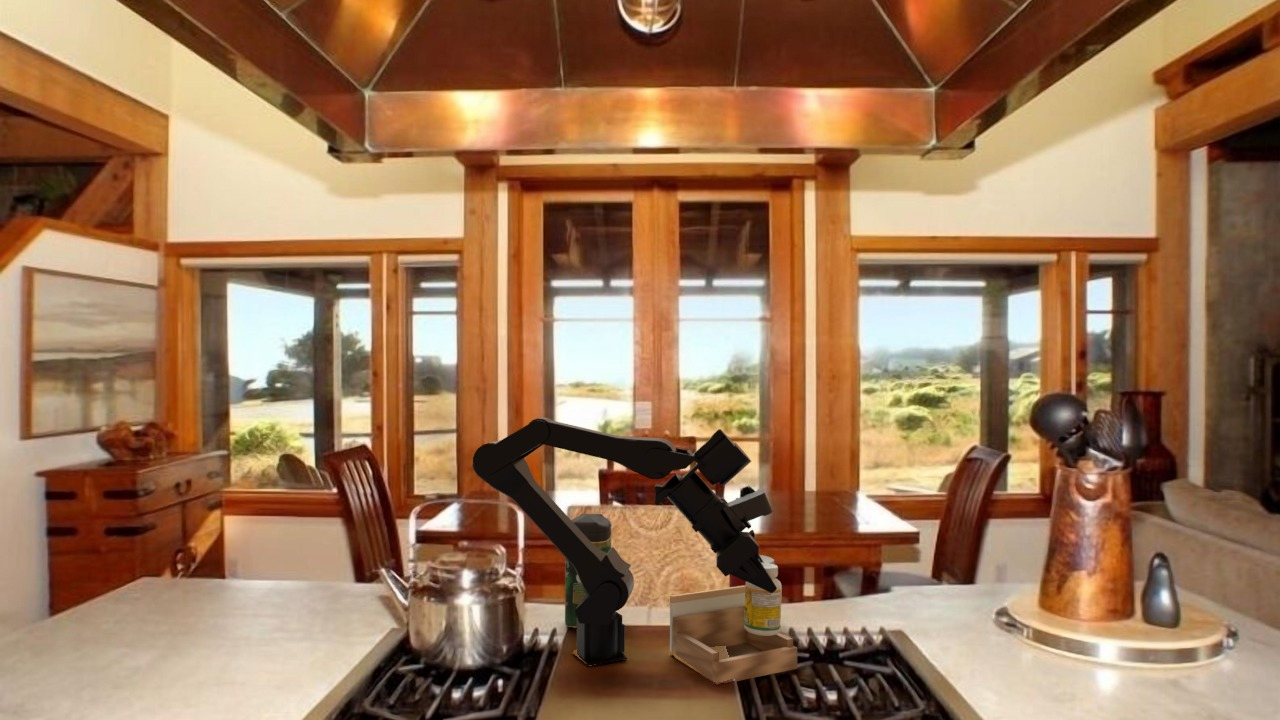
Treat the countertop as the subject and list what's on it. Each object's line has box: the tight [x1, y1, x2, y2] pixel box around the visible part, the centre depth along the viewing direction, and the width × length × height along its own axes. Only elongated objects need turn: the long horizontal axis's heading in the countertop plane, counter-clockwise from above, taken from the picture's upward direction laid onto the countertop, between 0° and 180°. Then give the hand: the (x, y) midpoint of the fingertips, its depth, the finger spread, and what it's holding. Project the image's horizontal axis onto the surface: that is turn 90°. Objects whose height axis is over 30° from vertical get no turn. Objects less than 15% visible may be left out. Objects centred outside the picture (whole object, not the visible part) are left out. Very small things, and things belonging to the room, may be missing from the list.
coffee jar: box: [564, 513, 612, 628], centre depth 131 cm, size 10×8×19 cm
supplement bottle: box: [744, 562, 783, 636], centre depth 112 cm, size 5×5×10 cm
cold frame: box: [673, 606, 798, 683], centre depth 113 cm, size 14×12×6 cm
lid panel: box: [669, 585, 745, 652], centre depth 119 cm, size 14×1×9 cm, turn 117°
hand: (772, 585), depth 112 cm, fingers closed on supplement bottle, 5 cm apart
